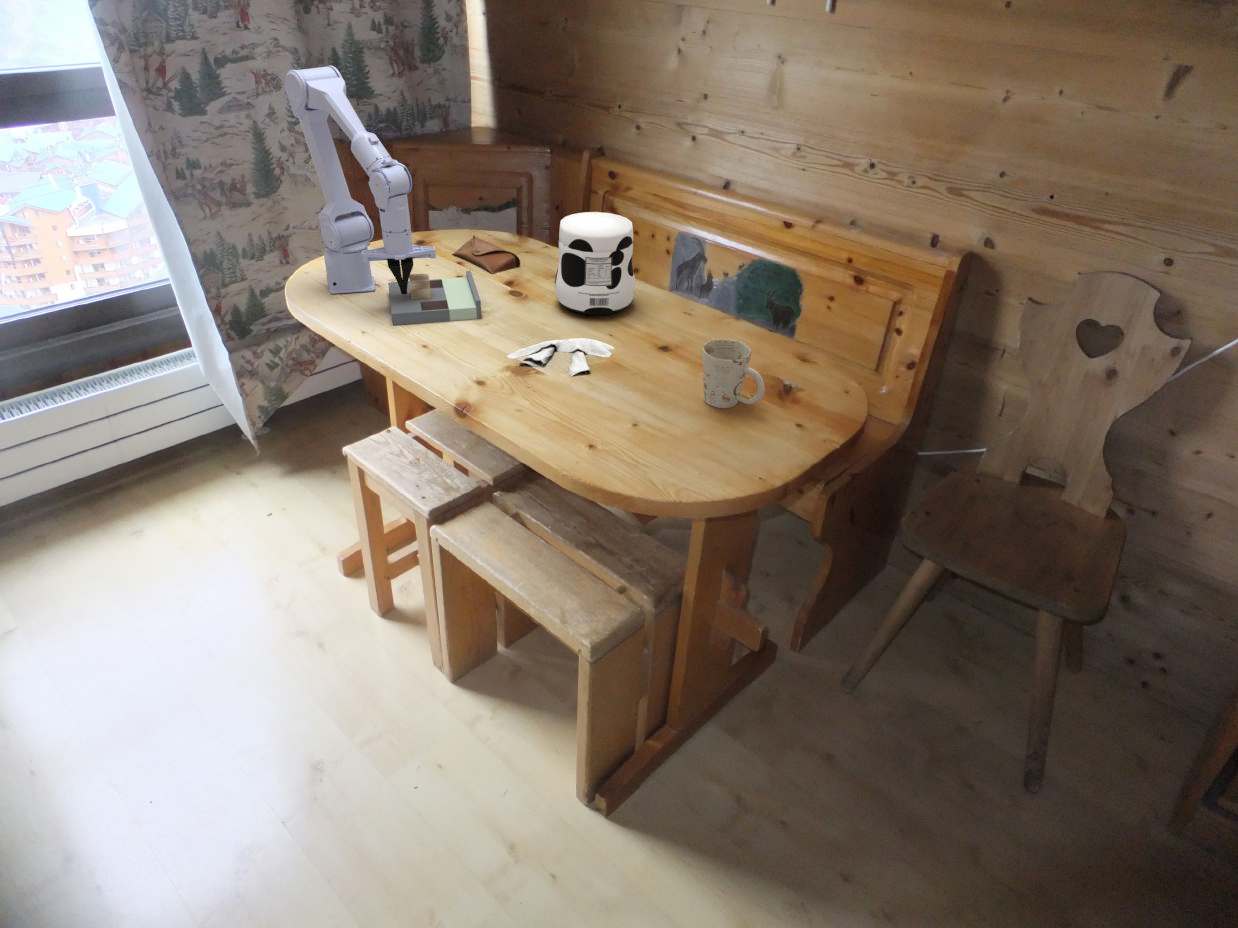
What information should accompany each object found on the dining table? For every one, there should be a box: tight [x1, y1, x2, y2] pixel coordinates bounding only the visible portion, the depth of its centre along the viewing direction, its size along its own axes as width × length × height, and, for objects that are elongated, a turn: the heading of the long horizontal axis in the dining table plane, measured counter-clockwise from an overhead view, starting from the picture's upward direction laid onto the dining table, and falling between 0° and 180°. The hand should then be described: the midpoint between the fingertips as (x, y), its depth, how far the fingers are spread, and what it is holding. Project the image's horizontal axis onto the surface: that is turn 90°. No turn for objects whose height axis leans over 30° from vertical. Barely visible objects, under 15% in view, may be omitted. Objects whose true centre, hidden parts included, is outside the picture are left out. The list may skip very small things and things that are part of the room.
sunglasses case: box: [451, 235, 521, 275], centre depth 196 cm, size 18×7×7 cm, turn 45°
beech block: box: [409, 273, 431, 300], centre depth 170 cm, size 4×4×4 cm
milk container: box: [554, 211, 636, 315], centre depth 171 cm, size 17×17×18 cm
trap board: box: [387, 270, 483, 326], centre depth 172 cm, size 18×17×4 cm
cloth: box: [505, 337, 615, 377], centre depth 154 cm, size 20×22×2 cm
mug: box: [701, 338, 766, 409], centre depth 139 cm, size 8×13×10 cm, turn 51°
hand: (404, 292), depth 169 cm, fingers closed
